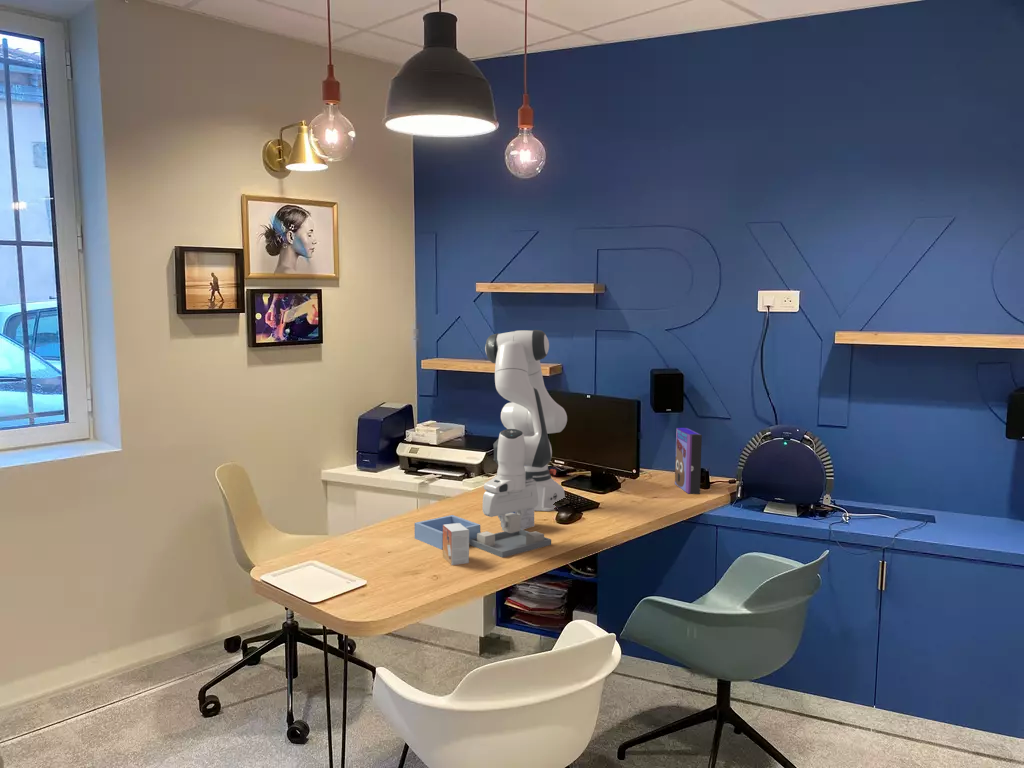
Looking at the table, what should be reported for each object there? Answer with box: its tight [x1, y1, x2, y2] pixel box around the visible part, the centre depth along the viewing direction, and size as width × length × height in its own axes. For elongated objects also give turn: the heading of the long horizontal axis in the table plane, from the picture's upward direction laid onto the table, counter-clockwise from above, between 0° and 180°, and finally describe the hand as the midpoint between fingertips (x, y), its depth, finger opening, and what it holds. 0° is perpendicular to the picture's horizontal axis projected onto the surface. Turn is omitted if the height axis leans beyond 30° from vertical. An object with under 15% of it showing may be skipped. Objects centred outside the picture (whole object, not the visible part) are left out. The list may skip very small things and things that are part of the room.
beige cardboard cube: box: [501, 513, 520, 533], centre depth 252 cm, size 4×4×5 cm
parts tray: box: [469, 529, 552, 559], centre depth 253 cm, size 20×16×2 cm
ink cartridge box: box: [507, 508, 535, 530], centre depth 272 cm, size 10×6×14 cm, turn 137°
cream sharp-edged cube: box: [477, 531, 495, 546], centre depth 253 cm, size 4×4×4 cm
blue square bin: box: [414, 514, 481, 551], centre depth 258 cm, size 15×15×6 cm
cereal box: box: [674, 427, 703, 495], centre depth 330 cm, size 17×5×24 cm, turn 6°
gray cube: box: [526, 530, 545, 545], centre depth 253 cm, size 4×4×4 cm
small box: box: [442, 523, 470, 567], centre depth 238 cm, size 8×6×10 cm
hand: (511, 525), depth 252 cm, fingers closed on beige cardboard cube, 4 cm apart
